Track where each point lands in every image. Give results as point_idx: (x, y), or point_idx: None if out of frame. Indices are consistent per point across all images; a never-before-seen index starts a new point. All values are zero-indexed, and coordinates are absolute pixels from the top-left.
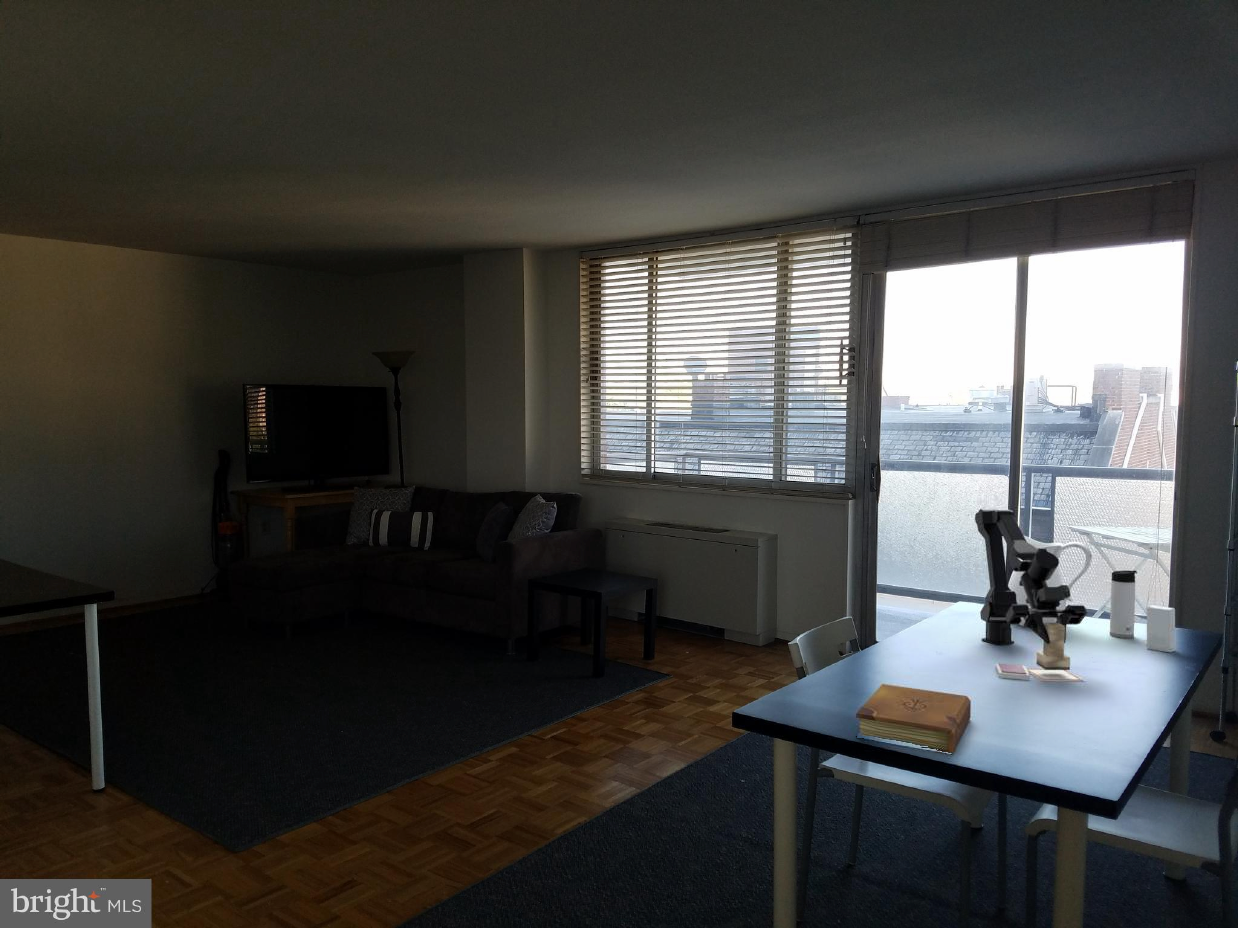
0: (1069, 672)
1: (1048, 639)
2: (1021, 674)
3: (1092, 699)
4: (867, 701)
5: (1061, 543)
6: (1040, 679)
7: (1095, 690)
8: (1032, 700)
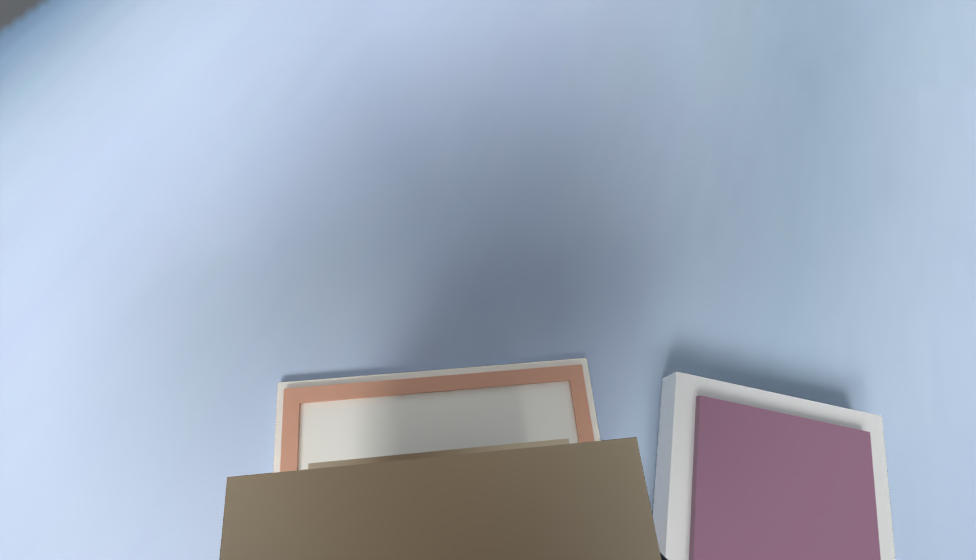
0: None
1: None
2: (730, 388)
3: (424, 57)
4: None
5: None
6: (589, 384)
7: (321, 194)
8: (719, 37)
